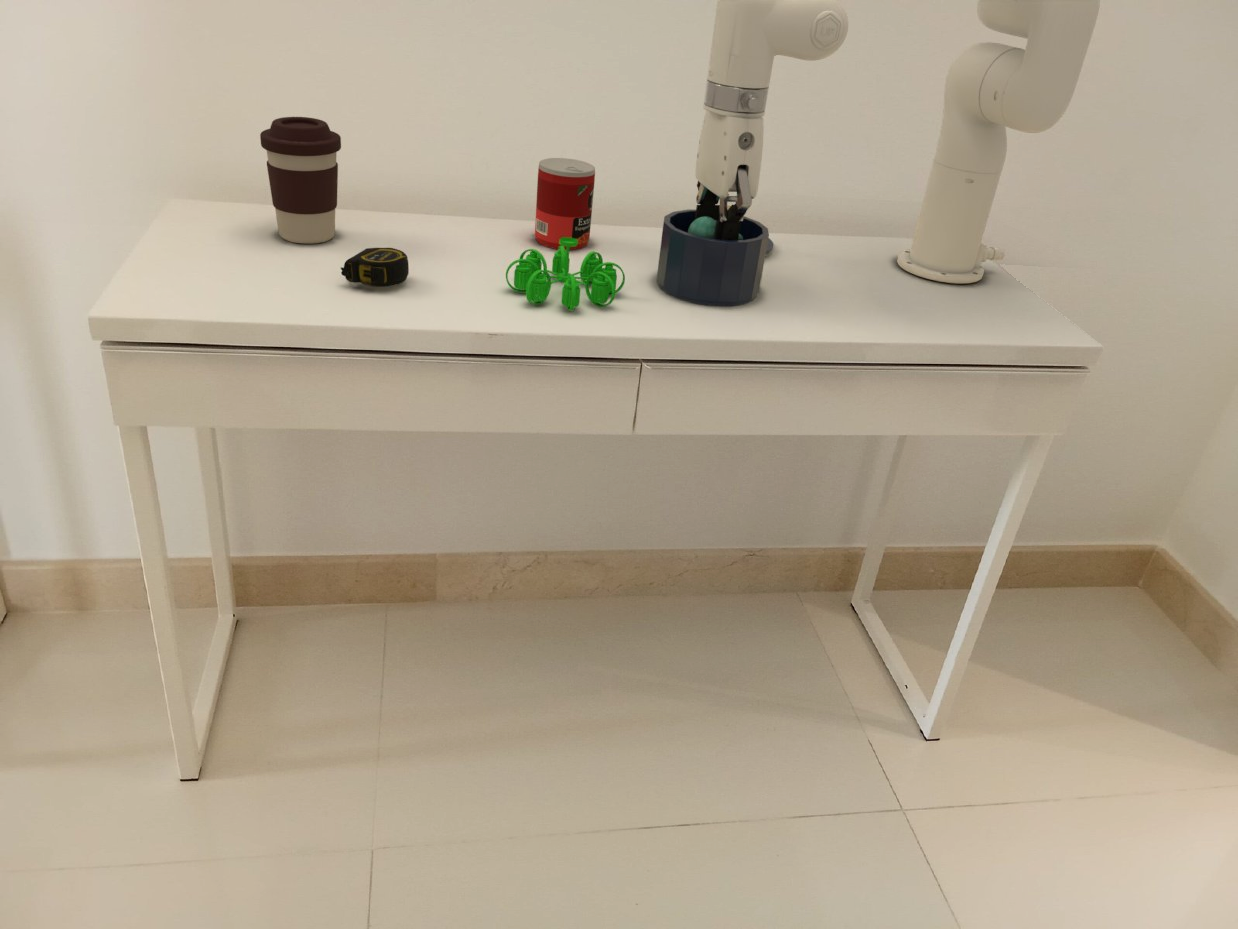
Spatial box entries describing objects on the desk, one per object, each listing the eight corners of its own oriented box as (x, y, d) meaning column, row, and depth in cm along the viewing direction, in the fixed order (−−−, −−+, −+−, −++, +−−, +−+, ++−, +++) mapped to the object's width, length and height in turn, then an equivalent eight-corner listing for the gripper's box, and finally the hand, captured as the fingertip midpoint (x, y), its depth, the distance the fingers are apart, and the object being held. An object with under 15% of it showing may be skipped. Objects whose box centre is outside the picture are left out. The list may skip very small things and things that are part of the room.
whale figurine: (679, 239, 131) (682, 210, 129) (729, 238, 133) (733, 210, 131) (696, 253, 126) (700, 224, 124) (748, 252, 128) (753, 223, 126)
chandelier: (633, 317, 120) (639, 263, 117) (509, 314, 118) (511, 258, 114) (613, 274, 133) (618, 223, 130) (501, 270, 130) (503, 218, 127)
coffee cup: (287, 220, 139) (279, 110, 132) (355, 230, 138) (351, 119, 131) (255, 241, 131) (245, 124, 123) (328, 252, 130) (321, 134, 122)
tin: (732, 268, 140) (742, 209, 136) (774, 305, 129) (786, 241, 125) (642, 270, 136) (649, 209, 131) (677, 308, 125) (686, 242, 120)
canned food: (582, 253, 139) (588, 175, 134) (527, 245, 140) (531, 166, 135) (594, 238, 146) (601, 162, 140) (542, 230, 147) (546, 154, 141)
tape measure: (368, 269, 126) (367, 241, 124) (418, 279, 124) (418, 250, 123) (341, 286, 120) (339, 256, 118) (393, 296, 119) (392, 266, 117)
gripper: (795, 115, 114) (768, 265, 124) (735, 86, 128) (714, 222, 137) (735, 113, 112) (712, 266, 121) (681, 83, 126) (664, 222, 135)
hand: (714, 241), depth 129 cm, fingers closed on whale figurine, 5 cm apart
